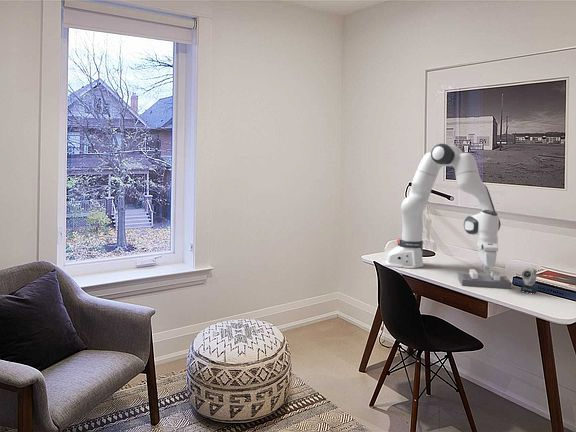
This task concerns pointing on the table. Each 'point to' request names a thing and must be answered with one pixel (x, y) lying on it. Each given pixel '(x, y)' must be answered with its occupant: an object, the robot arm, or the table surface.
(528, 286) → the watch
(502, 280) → the power strip
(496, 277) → the right switch
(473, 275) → the left switch
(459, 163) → the robot arm
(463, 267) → the table surface
